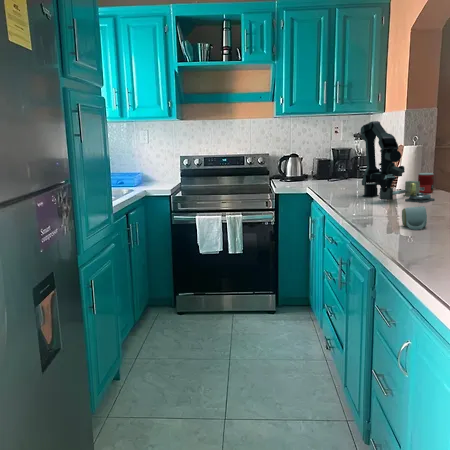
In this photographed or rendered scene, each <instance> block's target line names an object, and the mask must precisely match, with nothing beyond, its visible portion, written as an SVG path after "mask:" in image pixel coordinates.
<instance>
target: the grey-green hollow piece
mask: <svg viewBox="0 0 450 450" xmlns="http://www.w3.org/2000/svg"><path fill="white" fill-rule="evenodd" d="M410 183H416V194H417V193H419V190H420V181H418V180H416V181H415V180H406V181H405V184H404V185H405V186H404V187H405V189H406V190H407V193H404V194H403V195H402V196H403V197H405V196H406V197H407V198H409V195H410ZM405 189H404V190H405Z"/></svg>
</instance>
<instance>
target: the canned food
mask: <svg viewBox="0 0 450 450" xmlns="http://www.w3.org/2000/svg"><path fill="white" fill-rule="evenodd" d="M417 178H418V179H417V181H420V190H419V193H423V194H428V195H430V194H433V193H434V182H435V181H434V180H435V179H434V178H435V174H434V173H433V172H420V173H418V177H417Z"/></svg>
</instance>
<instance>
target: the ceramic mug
mask: <svg viewBox="0 0 450 450" xmlns="http://www.w3.org/2000/svg"><path fill="white" fill-rule="evenodd" d="M427 217H428V215H427V208H426V207H425V205H424V206H422V205H421V206H414V207H405V208H403V209H402V210H401V223H402V225H403V227H406V228H409V229H411V230H414V231H417V230H422V229H423V228H426V226H427V220H428V218H427Z"/></svg>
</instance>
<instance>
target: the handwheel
mask: <svg viewBox="0 0 450 450" xmlns="http://www.w3.org/2000/svg"><path fill="white" fill-rule="evenodd" d="M430 198H432V196H431V194H423V193H417V194H416V183H410V195H409V197H408V199H415V200H426V199H430Z"/></svg>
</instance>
